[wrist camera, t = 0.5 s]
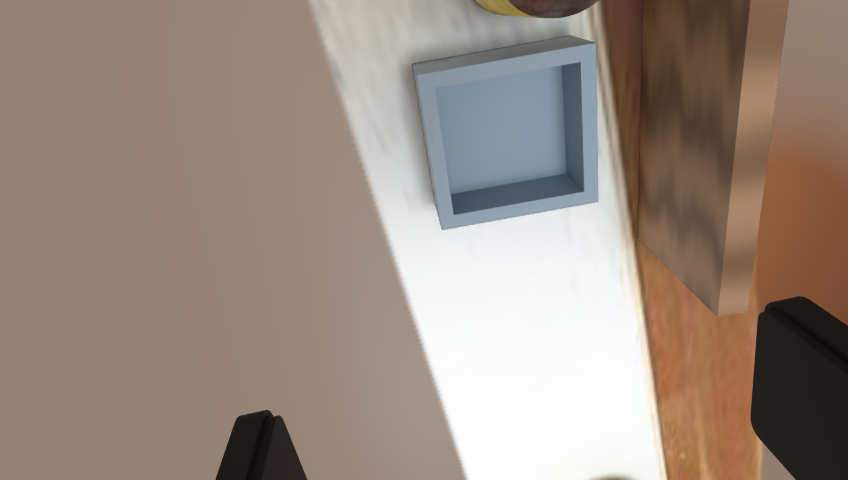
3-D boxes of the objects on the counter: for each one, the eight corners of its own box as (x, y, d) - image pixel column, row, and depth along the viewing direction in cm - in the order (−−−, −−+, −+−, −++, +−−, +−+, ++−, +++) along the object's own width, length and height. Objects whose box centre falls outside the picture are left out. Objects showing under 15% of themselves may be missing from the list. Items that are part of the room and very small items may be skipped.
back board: (644, -82, 35) (761, -109, 25) (674, -88, 35) (804, -117, 25) (637, 238, 46) (717, 317, 35) (660, 234, 46) (747, 311, 35)
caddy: (412, 64, 38) (416, 75, 34) (570, 35, 38) (595, 42, 34) (435, 204, 43) (441, 230, 39) (575, 178, 43) (598, 201, 39)
